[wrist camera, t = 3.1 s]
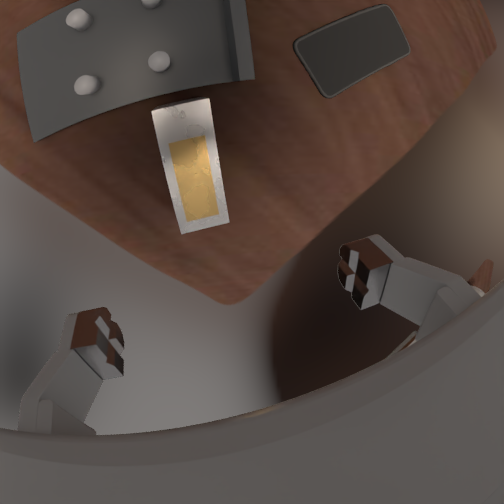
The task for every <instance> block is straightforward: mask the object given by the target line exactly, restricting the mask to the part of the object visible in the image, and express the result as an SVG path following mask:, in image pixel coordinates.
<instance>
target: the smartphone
mask: <svg viewBox="0 0 504 504" xmlns="http://www.w3.org/2000/svg"><path fill="white" fill-rule="evenodd" d="M293 49H294V52H295V54H296V55H297V57H298V58H299V60H300V61H301V63H302V64H303V66H304V68H305V69H306V71H308V72H309V74H310V75H309V76H310V77H311V79H312V80H313V82H314V84H315V85H316V87H317V89H318V91H319V92H320V94H321V95H322V96H323V97H325V98H332V97H334V96H336V95H338V94H339V93H341V92H342V91H344V90H346V89H347V88H349V87H351V86H353V85H354V84H356V83H358V82H359V81H361V80H363V79H365V78H366V77H368V76H370V75H372V74H373V73H375V72H377V71H379V70H381V69H383V68H384V67H386V66H389V65H391V64H393V63H395V62H397V61H398V60H400V59H401V58H403V57H405V56H407V55H409V54H410V46H409V43H408V41H407V39H406V37H405V35H404V32H403V30H402V28H401V26H400V24H399V22H398V20H397V18H396V16H395V14H394V13H393V11H392V9H391V8H390V7H389V6H388V5H386V4H380V5H375V6H372V7H369V8H366V9H363V10H360V11H358V12H355V13H354V14H351V15H349V16H346V17H343V18H341V19H339V20H336V21H334V22H332V23H329V24H327V25H325V26H322V27H320V28H318V29H316V30H314V31H312V32H310V33H308V34H306V35H304V36H302V37H300V38H298V39H296V40H295V41H294V42H293Z"/></svg>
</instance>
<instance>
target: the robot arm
mask: <svg viewBox="0 0 504 504" xmlns="http://www.w3.org/2000/svg"><path fill="white" fill-rule="evenodd" d="M339 255H340V256H341V258H342V260H341V261H340V263H339V264H338V276H339V280H340V282H341V284H342V286H343V287H344V288H345V289H346V290H348V291H351V292H352V295H351V298H352V299H353V300H354V302H355V303H356V304H357V305H358V307H359V308H360V310H362V309H365V308H367V307H370V306H373V305H375V304H378V303H380V304H381V305H383V306H385V307H387V308H389V309H390V310H392V311H394V312H396V313H398V314H399V315H401V316H403V317H405V318H407V319H408V320H410V321H412V322H414V323H416V324H417V325H419V326H420V328H419V330H418V332H417V334H416V337H415V339H416V341H417V342H415V343H413V344H412V345H410V346H408V347H406V348H405V349H403V350H401V351H399V352H397V353H396V354H394V355H392V356H390V357H388V358H386V359H384V360H382V361H380V362H378V363H376V364H374V365H372V366H370V367H368V368H367V369H364V370H362V371H360V372H358V373H356V374H353V375H351V376H349V377H347V378H345V379H343V380H340V381H338V382H335V383H333V384H330V385H328V386H326V387H323V388H321V389H318V390H315V391H313V392H310V393H307V394H305V395H302V396H299V397H296V398H294V399H291V400H288V401H285V402H282V403H279V404H276V405H272V406H269V407H266V408H263V409H259V410H256V411H252V412H248V413H245V414H241V415H237V416H233V417H229V418H225V419H221V420H216V421H212V422H207V423H202V424H197V425H191V426H186V427H180V428H174V429H167V430H159V431H151V432H142V433H131V434H116V435H96V431H95V430H94V429H92V428H91V427H89V426H87V425H86V424H84V421H85V418H86V416H87V414H88V412H89V410H90V408H91V405H92V403H93V401H94V399H95V397H96V395H97V393H98V391H99V389H100V387H101V385H102V383H103V380H105V379H111V378H117V377H122V376H124V360H123V358H122V357H121V356H120V355H121V353H122V351H123V350H124V339H123V334H122V332H121V329H120V327H119V326H118V324H117V323H115V322H113V321H111V314H110V312H109V311H108V309H107V308H105V307H101V308H96V309H92V310H86V311H82V312H78V313H74V314H69V315H68V316H67V317H66V320H65V323H64V328H63V331H62V336H61V340H60V344H59V349H58V352H54V354H53V355H52V356H51V358H50V359H49V360H48V362H47V363H46V364H45V366H44V367H43V368H42V370H41V371H40V373H39V374H38V375H37V377H36V378H35V380H34V381H33V382H32V384H31V385H30V387H29V388H28V390H27V391H26V393H25V394H24V396H23V397H22V399H21V407H20V413H19V421H18V431H17V430H10V429H4V428H0V504H504V279H503V280H502V281H501V282H500V283H498V284H497V285H496V286H495V287H494V288H492V289H491V290H490V291H489V292H488V293H486V294H485V295H484V296H483V297H481V296H480V295H479V294H478V293H477V292H476V291H475V290H474V289H473V288H472V287H471V286H470V285H469V284H468V283H467V282H466V281H465V280H464V279H463V278H462V277H461V276H459V275H456V274H453V273H451V272H448V271H445V270H443V269H440V268H437V267H434V266H432V265H429V264H426V263H423V262H420V261H418V260H415V259H412V258H409V257H407V258H404V257H403V256H402V255H401V254H400V253H399V252H398V251H397V250H396V249H394V248H393V247H392V246H391V245H390V244H389V243H388V242H387V241H386V240H384V239H383V238H382V237H381V236H380V235H377V234H375V235H372V236H369V237H366V238H364V239H361V240H357V241H353V242H350V243H347V244H344V245H342V246H341V248H340V252H339Z"/></svg>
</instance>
